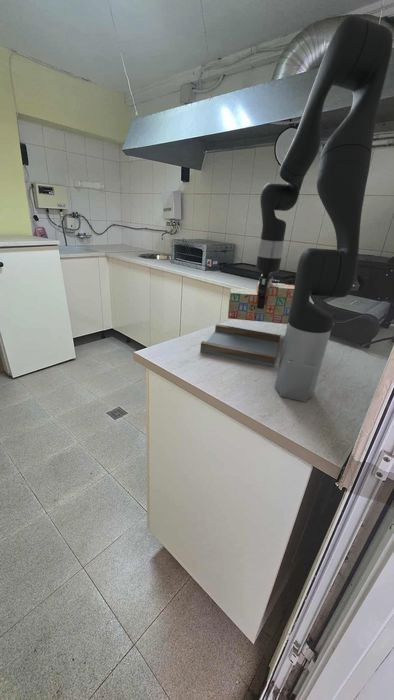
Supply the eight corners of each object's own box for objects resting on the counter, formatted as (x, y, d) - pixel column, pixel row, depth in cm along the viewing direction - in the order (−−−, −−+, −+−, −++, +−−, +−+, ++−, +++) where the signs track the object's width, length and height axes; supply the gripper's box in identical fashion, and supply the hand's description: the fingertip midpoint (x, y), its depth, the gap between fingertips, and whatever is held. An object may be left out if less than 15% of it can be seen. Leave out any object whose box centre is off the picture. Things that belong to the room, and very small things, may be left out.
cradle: (273, 367, 81) (275, 357, 79) (200, 351, 87) (200, 343, 85) (279, 343, 95) (280, 335, 94) (216, 331, 101) (216, 324, 100)
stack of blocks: (227, 319, 98) (231, 283, 93) (227, 313, 104) (231, 279, 98) (290, 324, 96) (298, 288, 91) (287, 318, 102) (294, 284, 97)
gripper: (279, 259, 84) (270, 313, 91) (283, 254, 96) (274, 301, 103) (254, 256, 86) (247, 309, 93) (260, 252, 98) (254, 298, 105)
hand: (261, 305), depth 98 cm, fingers closed on stack of blocks, 7 cm apart
